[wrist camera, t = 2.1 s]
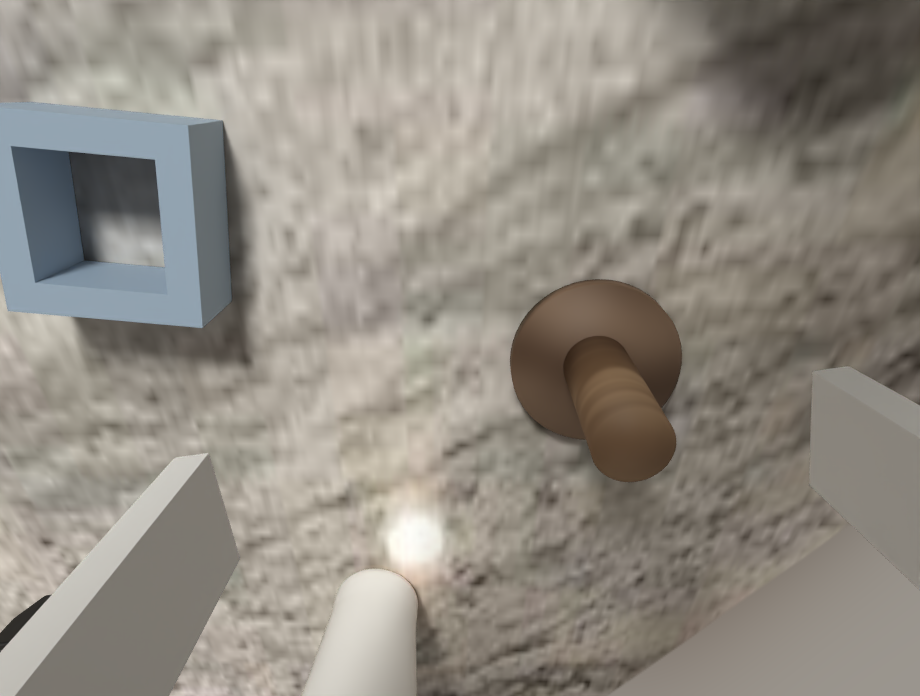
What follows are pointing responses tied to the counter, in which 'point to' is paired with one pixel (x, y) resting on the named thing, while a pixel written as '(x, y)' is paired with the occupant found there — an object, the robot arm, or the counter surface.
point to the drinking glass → (368, 639)
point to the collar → (57, 226)
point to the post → (601, 373)
